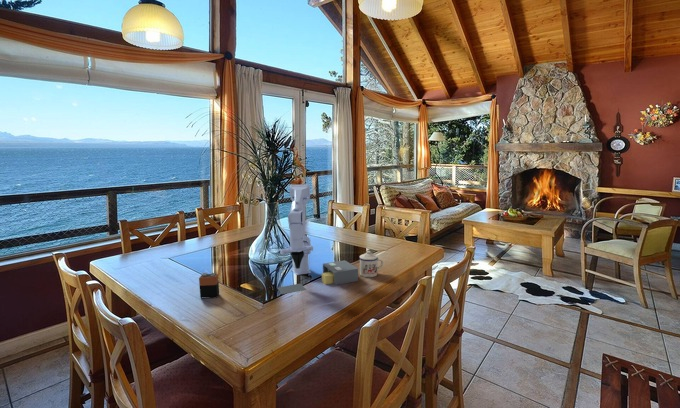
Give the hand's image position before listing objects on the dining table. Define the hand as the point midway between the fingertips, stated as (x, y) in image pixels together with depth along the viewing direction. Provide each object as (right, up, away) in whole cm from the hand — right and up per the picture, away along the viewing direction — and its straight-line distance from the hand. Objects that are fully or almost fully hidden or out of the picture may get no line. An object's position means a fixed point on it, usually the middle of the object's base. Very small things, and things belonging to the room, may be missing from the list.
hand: (297, 267), depth 153 cm
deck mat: (-2, -9, -2) cm, 10 cm away
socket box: (+19, -7, +11) cm, 23 cm away
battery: (-36, -11, -8) cm, 38 cm away
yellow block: (+15, -8, +6) cm, 18 cm away
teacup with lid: (+34, -6, +16) cm, 38 cm away
